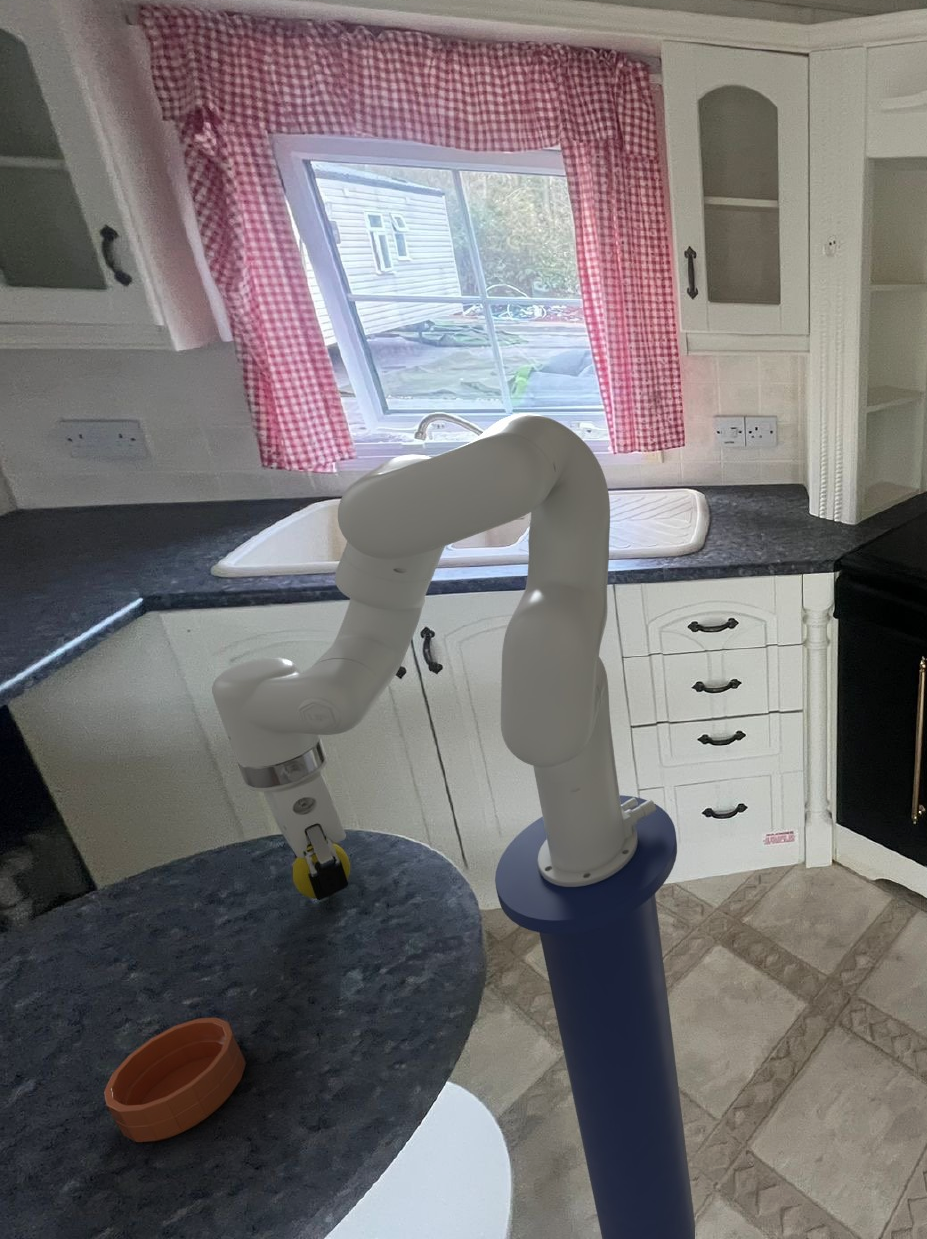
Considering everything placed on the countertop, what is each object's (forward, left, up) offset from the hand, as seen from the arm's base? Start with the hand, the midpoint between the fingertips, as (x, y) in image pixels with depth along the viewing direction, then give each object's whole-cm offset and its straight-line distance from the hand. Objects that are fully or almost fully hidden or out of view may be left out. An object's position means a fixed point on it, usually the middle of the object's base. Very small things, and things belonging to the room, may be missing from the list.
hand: (323, 875), depth 91 cm
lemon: (0, 0, -3) cm, 3 cm away
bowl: (+16, +19, -3) cm, 25 cm away
